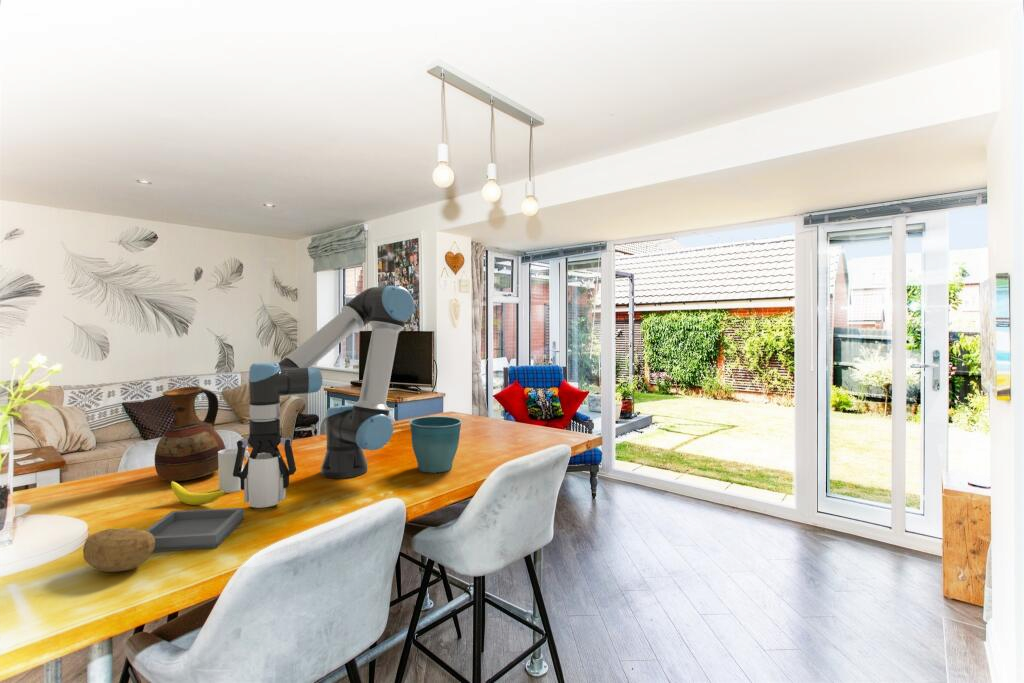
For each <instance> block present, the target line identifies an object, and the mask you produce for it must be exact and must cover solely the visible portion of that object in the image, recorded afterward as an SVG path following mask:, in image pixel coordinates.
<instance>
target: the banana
mask: <svg viewBox="0 0 1024 683" xmlns="http://www.w3.org/2000/svg"><path fill="white" fill-rule="evenodd" d="M169 483H170V485H171V490H172V491H173V493H174V496H175V497H176V498H177V499H178V501H180V502H182V503H184V504H186V505H190V506H201V505H206V504H210V503H214V502H215V501H217V500H219V499H220V498H221V497H222V496H224V494H226V493H225V491H217V490H216V491H213V492H212V491H211V492H205V493H202V492H201V493H197V492H191V491H188V490H187V489H185V488H184V487H183V486H181V484H179V483H177V482H176V481H173V480H170V481H169Z"/></svg>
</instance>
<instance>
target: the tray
mask: <svg viewBox="0 0 1024 683" xmlns="http://www.w3.org/2000/svg"><path fill="white" fill-rule="evenodd" d="M244 520H245V507H230V508H227V507H226V508H212V509H211V508H207V509H206V508H205V509H190V510H189V509H188V510H172V511H171V512H169V513H168V514H165V516H163V517H162V518H161V519H159V520H158V521H157V522H155V523H154V524H152V525H150V526H149V527H148V528H147V529H145V530H144V531H147V532H150V533H151V534H152V535H153V536H154V539H155V547H154V550H153V551H152V553H156V552H158V553H159V552H171V551H172V552H173V551H188V550H204V549H205V550H206V549H207V550H208V549H217V548H218V547H219V546H220V545H221V544H222V543H223V542H224V541H225V540H226V539H227V537H229V536H230V534H231V533H233V531H234V530H236V528H237V527H238V526H239V525H240V524H241V523H242V522H243V521H244Z"/></svg>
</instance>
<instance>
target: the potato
mask: <svg viewBox="0 0 1024 683" xmlns="http://www.w3.org/2000/svg"><path fill="white" fill-rule="evenodd" d="M154 547H155V539H154V536H153V535H152V534H151V533H150V532H147V531H145V530H141V529H138V528H136V527H122V528H107V529H105V530H104V529H103V530H100V531H98V532H96V533H94V534H92V535H90V536H88V537H87V539H86V540H85V542H84V545H83V549H82V553H83V559H84V561H85V562H86V564H88V565H89V566H90V567H92V568H93V569H95V570H97V571H101V572H109V573H110V572H112V573H114V572H117V573H118V572H119V573H120V572H125V571H131V570H134V569H135V568H137V567H138V566H140V565H142V564H143V563H145V562H146V561H147V560H148V559H149V558H150V557H151V555H152V553H153V552H152V551H153V550H154Z"/></svg>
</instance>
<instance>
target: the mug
mask: <svg viewBox="0 0 1024 683" xmlns="http://www.w3.org/2000/svg"><path fill="white" fill-rule="evenodd" d="M237 451H238V448H237V447H233V448H226V449H224V450H221V451H219V452H218V467H219V469H218V487H219V491H225V493H224V494H229V493H231V494H232V493H237V492H239V491H242V490H241V479H240V478H239V477H234V476H233V471H234V466H235V461H236V456H237ZM249 457H250V453H249V450H248V449H245V454H244V458H246V462H247V461H248V459H249ZM243 469H244V463H243V464H242V469H241V471H243ZM247 477H248V475H247Z"/></svg>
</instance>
